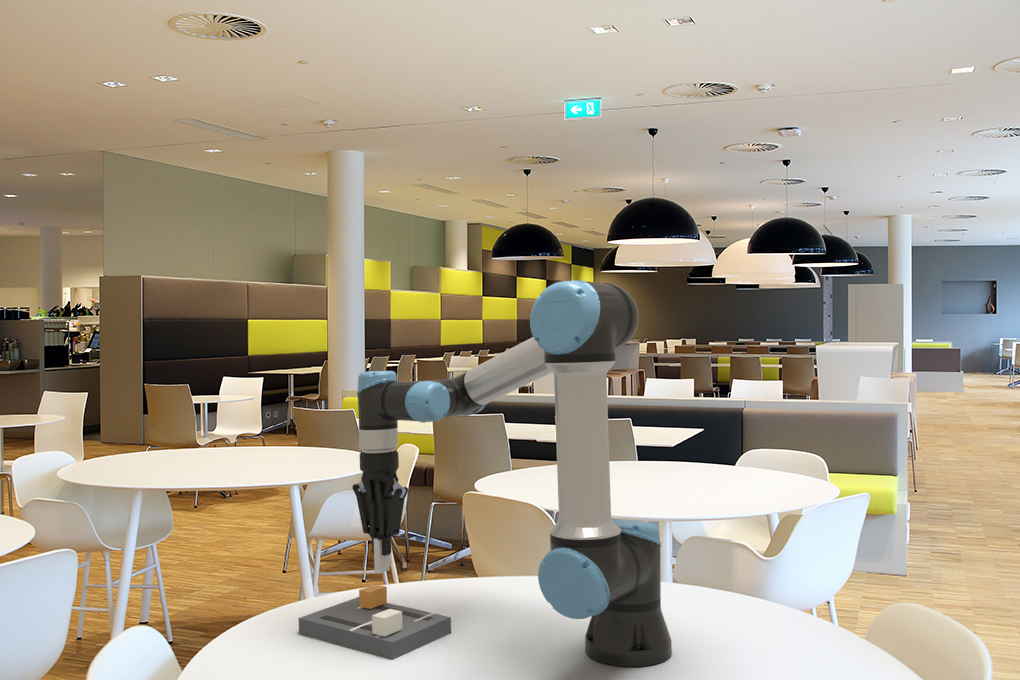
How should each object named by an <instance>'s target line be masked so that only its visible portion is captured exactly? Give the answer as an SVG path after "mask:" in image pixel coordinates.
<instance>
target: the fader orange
mask: <svg viewBox="0 0 1020 680" xmlns="http://www.w3.org/2000/svg"><path fill="white" fill-rule="evenodd" d="M387 588H388V587H387V586H385V585H381V584H373V585H371V586H370V585H369V586H367V587H363V588H361V589H359V590H358V597H359V606H360V607H364V608H369V609H372V608H374V607H377V606H380V605H382V604H385V603H388V601H387V600H388V594H387V593H388V590H387Z"/></svg>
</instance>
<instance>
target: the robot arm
mask: <svg viewBox="0 0 1020 680" xmlns="http://www.w3.org/2000/svg"><path fill="white" fill-rule="evenodd" d="M532 305H533V306H532V308H531V310H530V311H531V312H530V316H529V317H530V318H529V327H530V332H531V335H532V337H530V338H529V339H526V340H525V341H522V342H520V343H518V344H517V345H514V346H513V347H511V348H509V349H507V350H505V351H503V352H501V353H499V354H498V355H496V356H494V357H492V358H489V359H488V360H486V361H483V362H482V363H480V364H478V365H476V366H475V367H472V368H471V369H469V370H467V371H465V372H463V373H461V374H459V375H456V376H455V377H451V378H444V379H432V380H431V379H429V380H428V379H427V380H417V381H415V380H413V381H412V380H411V381H398V380H397V373H396V372H395V371H393V370H373V371H363V372H360V373H359V375H358V379H357V380H358V381H357V392H356V395H357V406H358V411H357V412H358V444H359V445H358V449H359V450H360V453H359V470H360V471H361V472H362V476H361V480H360V481H359V482H358V483H355V484H352V490H353V493H354V495H355V498H356V501H357V506H358V507H357V508H358V513H359V517H360V522H361V523H360V524H361V526H362V528H361V529H362V532H363V534H365V535H366V534H367V535H368V536H369V537H370V538H371V552H372V553H371V554H373V562H374V563H373V566H374V573H377V574H382V573H385V572H389V571H390V567H391V565H390V555H391V554H392V538H393V537H394V536H397V535H399V534H400V532H401V525H402V518H403V511H404V507H405V499H406V497H407V496H408V495H407V494H408V493H409V487H408V486H402V485H401V484H400V483H399V478H398V475H397V471H398V469H399V466H400V465H399V464H400V463H399V461H400V460H399V452H398V450H397V448H398V447H399V437H398V434H399V433H398V431H399V428H398V424H399V423H398V421H405V422H418V423H431V422H435V423H436V422H439V421H441V420H442V419H444V418H450V417H459V416H460V417H461V416H466V417H467V416H471V415H473V414H478V413H480V412H481V411H482V410H484V408H485V407H486V406H487V404H489V403H490V402H491V403H492V402H494V401H495V400H497V399H499V398H502V397H504V396H506V395H508V394H510V393H512V392H514V391H516V390H518V389H520V388H523V387H525V386H527V385H529V384H531V383H533V382H535V381H537V380H539V379H542V378H544V377H546V376H548V375H549V374H553V379H554V380H553V381H554V386H553V387H554V409H555V411H554V412H555V442H556V467H557V468H556V472H557V476H556V477H557V497H558V498H557V499H558V500H557V501H558V502H557V503H558V505H557V506H558V520H557V522H556V523H555V524H554V525H553V526H552V527H551V528H550V530H549V539H550V540H549V542H550V543H549V545H550V546H549V547H550V551H549V550H548V552H547V553H546V554H545V556H544V557H543V558H542V559H541V561H540V564H539V567H538V571H537V579H538V583H539V584H538V585H539V588H540V591H541V593H542V596H543V598H544V599H545V600H546V601H545V602H547V603H549V604H550V606H552V609H553V610H555V611H556V612H557V613H558V614H560V615H562V617H563V616H564V617H565V618H568V619H571V620H572V619H573V620H583V619H588V618H590V620H589V624H588V625H587V630H586V633H585V636H584V650H585V654H586V655H587V656H588V657H590V659H593V660H595V661H597V662H600V663H603V664H606V665H612V666H617V667H618V666H619V667H635V668H636V667H646V666H652V665H656V664H661V663H663V662H664V661H666V660H669V658H670V657H671V656H672V650H673V649H672V638H671V636H670V631H669V629H668V625H667V623H666V620H665V617H664V614H663V611H662V604H661V603H662V601H661V600H662V599H661V598H662V597H661V596H662V595H661V594H662V592H661V590H662V589H661V588H662V587H661V586H662V585H661V547H662V542H661V541H660V540H661V539H660V531H659V530H660V529H659V527H658V526H657V525H655V524H654V523H651V522H648V521H641V520H636V519H635V520H634V519H625V518H612V506H611V505H612V503H611V497H612V496H611V471H610V469H611V467H610V444H609V442H610V441H609V415H608V414H609V410H608V409H609V408H608V407H609V406H608V378H607V374H608V372H609V371H610V369H611V368H613V366H614V365H615V364H616V350H618V349H620V348H622V347H623V346H625V345H626V344H628V343H629V342H630V341H631V339H632V338H633V337H634V336H635V333H636V332H637V330H638V327H639V320H640V316H639V315H640V313H639V309H638V305H637V303H636V301H635V299H634V298H633V296H632V295H631V294H630V293H629V292H628V291H627V290H626V289H624V288H622V287H621V286H619V285H616V284H612V283H606V282H594V281H588V280H587V281H585V280H575V279H573V280H567V281H565V280H564V281H559V282H558V281H557V282H555V283H553V284H551V285H549V286H547V287H546V288H545V289H544V290H542V292H541V293H540V294H539V296H537V298H536V299H535V300H534V303H533V304H532Z"/></svg>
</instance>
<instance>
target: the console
mask: <svg viewBox="0 0 1020 680" xmlns="http://www.w3.org/2000/svg"><path fill="white" fill-rule="evenodd" d="M388 609H394V610H398V611H402V630H399V631H397V632H395V633H392V634H390V635H387V636H385V637H384V636H380V635H376V634H372V615H375V614H377V613H380V612H382V611H385V610H388ZM451 633H452V617H451V616H448V615H443V614H437V613H435V612H430V611H425V610H421V609H417V608H412V607H407V606H402V605H398V604H395V603H389V602H387V603H385V604H382V605H380V606H377V607H374V608H372V609H369V608H364V607H360V606H359V596H358V597H357V596H356V597H354V598H352V599H350V600H349V599H348V600H345V601H343V602H340V603H337V604H335V605H332V606H329V607H326V608H323V609H319V610H318V611H314V612H311V613H309V614H306V615H303V616H301V617H298V635H301V636H306V637H308V638H309V637H310V638H313V639H316V640H321V641H324V642H327V643H331V644H335V645H338V646H342V647H347V648H349V649H353V650H357V651H360V652H364V653H368V654H371V655H374V656H379V657H382V658H386V659H389V660H395V659H397V658H400V657H402V656H403V655H405V654H408V653H410V652H412V651H415V650H417V649H419V648H421V647H423V646H426V645H428V644H430V643H432V642H434V641H436V640H439V639H441V638H443V637H445V636H448V635H450V634H451Z"/></svg>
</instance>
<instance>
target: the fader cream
mask: <svg viewBox="0 0 1020 680" xmlns="http://www.w3.org/2000/svg"><path fill="white" fill-rule="evenodd" d="M399 630H402V611H398V610H394V609H388V610H385V611H382V612H380V613H377V614H375V615H372V634H376V635H380V636H384V637H385V636H387V635H390V634H392V633H395V632H397V631H399Z"/></svg>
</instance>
